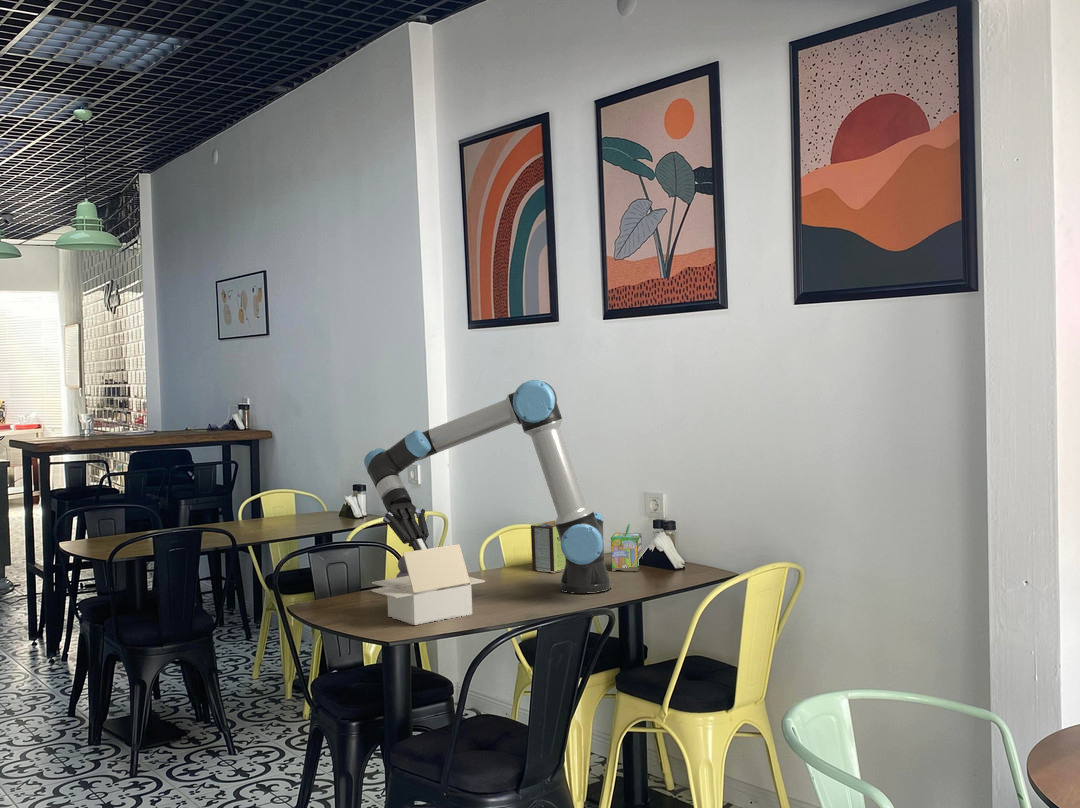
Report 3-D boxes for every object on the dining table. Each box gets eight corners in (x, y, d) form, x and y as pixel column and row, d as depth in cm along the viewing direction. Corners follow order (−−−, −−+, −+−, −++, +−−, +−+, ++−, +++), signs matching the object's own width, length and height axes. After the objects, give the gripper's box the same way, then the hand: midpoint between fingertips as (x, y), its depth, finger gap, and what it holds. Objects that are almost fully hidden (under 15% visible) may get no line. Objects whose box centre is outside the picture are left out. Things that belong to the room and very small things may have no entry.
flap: (402, 552, 254) (403, 552, 254) (458, 544, 265) (459, 544, 265) (413, 593, 251) (413, 592, 250) (469, 583, 261) (470, 582, 261)
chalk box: (616, 566, 324) (614, 522, 324) (643, 567, 322) (641, 522, 322) (610, 571, 315) (609, 526, 315) (638, 572, 313) (637, 526, 313)
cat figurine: (420, 596, 287) (419, 556, 286) (394, 597, 287) (392, 557, 287) (424, 590, 295) (423, 551, 295) (398, 591, 295) (397, 552, 295)
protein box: (585, 566, 326) (583, 521, 326) (554, 574, 315) (552, 526, 315) (562, 563, 333) (560, 518, 333) (531, 570, 322) (529, 524, 322)
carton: (355, 615, 265) (354, 584, 265) (442, 598, 282) (441, 570, 282) (397, 629, 247) (396, 597, 247) (487, 611, 264) (486, 580, 264)
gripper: (409, 501, 280) (442, 565, 267) (369, 506, 272) (401, 572, 259) (418, 484, 276) (452, 548, 263) (377, 488, 268) (410, 555, 255)
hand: (427, 560), depth 261 cm, fingers closed
